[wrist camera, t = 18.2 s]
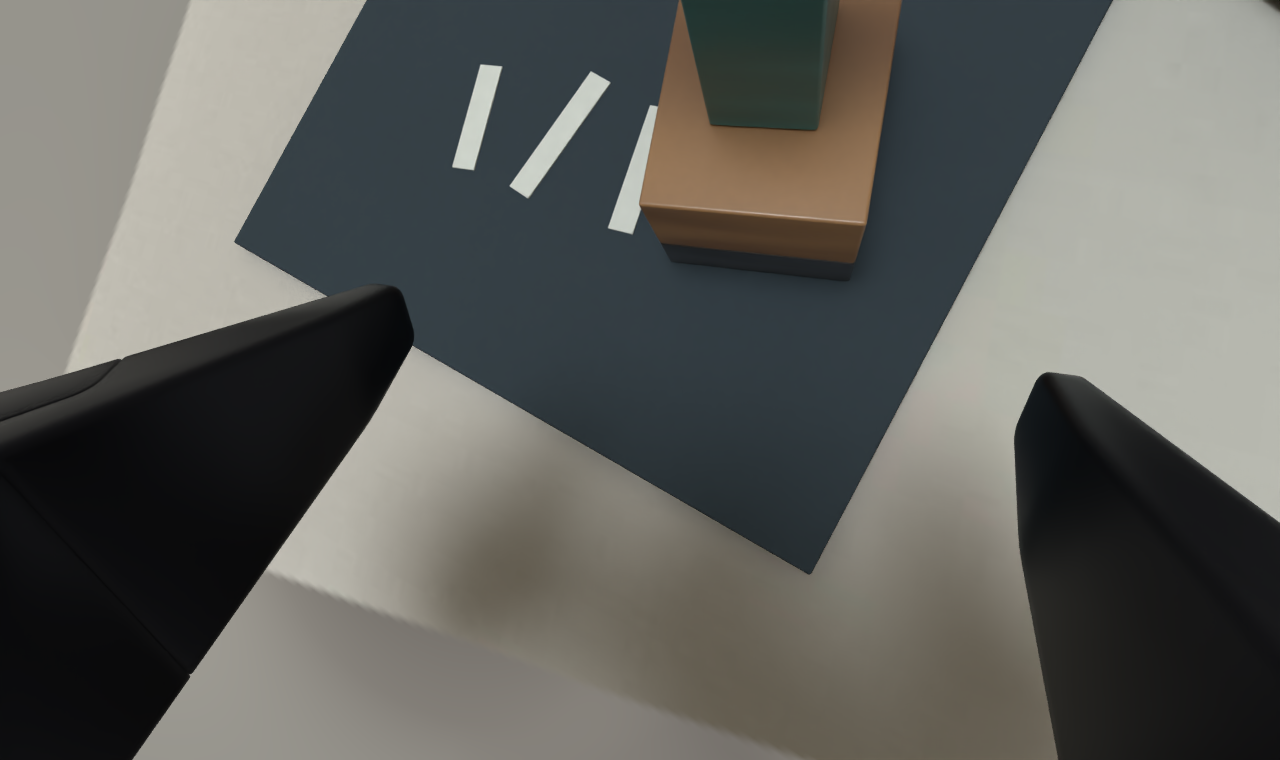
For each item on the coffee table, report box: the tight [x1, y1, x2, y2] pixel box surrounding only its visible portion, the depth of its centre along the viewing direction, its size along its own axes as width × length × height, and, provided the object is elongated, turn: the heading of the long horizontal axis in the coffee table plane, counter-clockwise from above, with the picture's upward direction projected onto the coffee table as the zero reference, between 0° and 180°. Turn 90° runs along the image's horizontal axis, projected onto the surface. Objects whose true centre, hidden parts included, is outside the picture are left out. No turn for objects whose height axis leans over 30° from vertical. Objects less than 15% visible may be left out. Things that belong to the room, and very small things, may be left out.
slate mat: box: [234, 0, 1113, 574], centre depth 19 cm, size 18×22×1 cm
